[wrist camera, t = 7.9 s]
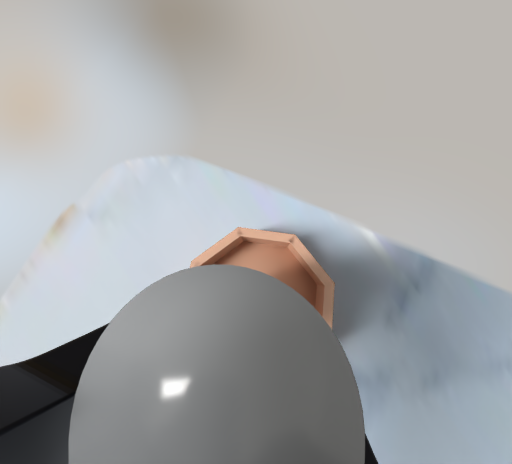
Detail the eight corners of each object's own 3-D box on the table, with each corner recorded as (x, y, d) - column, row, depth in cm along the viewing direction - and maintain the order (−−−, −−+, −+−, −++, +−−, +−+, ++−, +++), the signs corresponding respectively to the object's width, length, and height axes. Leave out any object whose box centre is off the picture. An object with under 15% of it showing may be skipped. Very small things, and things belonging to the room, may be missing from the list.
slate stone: (295, 328, 15) (426, 561, 3) (234, 348, 15) (80, 688, 3) (274, 266, 16) (298, 232, 4) (217, 284, 16) (60, 309, 4)
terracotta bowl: (315, 380, 17) (327, 406, 14) (185, 354, 18) (166, 372, 15) (325, 246, 20) (337, 240, 17) (210, 230, 21) (199, 222, 18)
